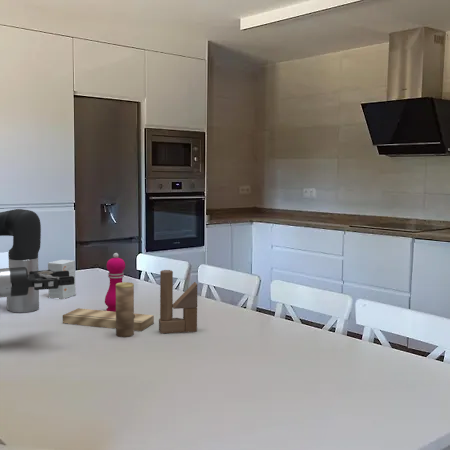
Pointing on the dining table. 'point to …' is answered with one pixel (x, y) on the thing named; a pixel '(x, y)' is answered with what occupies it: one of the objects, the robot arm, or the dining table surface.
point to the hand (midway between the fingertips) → (71, 277)
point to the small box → (63, 290)
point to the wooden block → (176, 306)
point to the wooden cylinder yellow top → (125, 309)
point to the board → (104, 319)
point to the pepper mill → (114, 280)
